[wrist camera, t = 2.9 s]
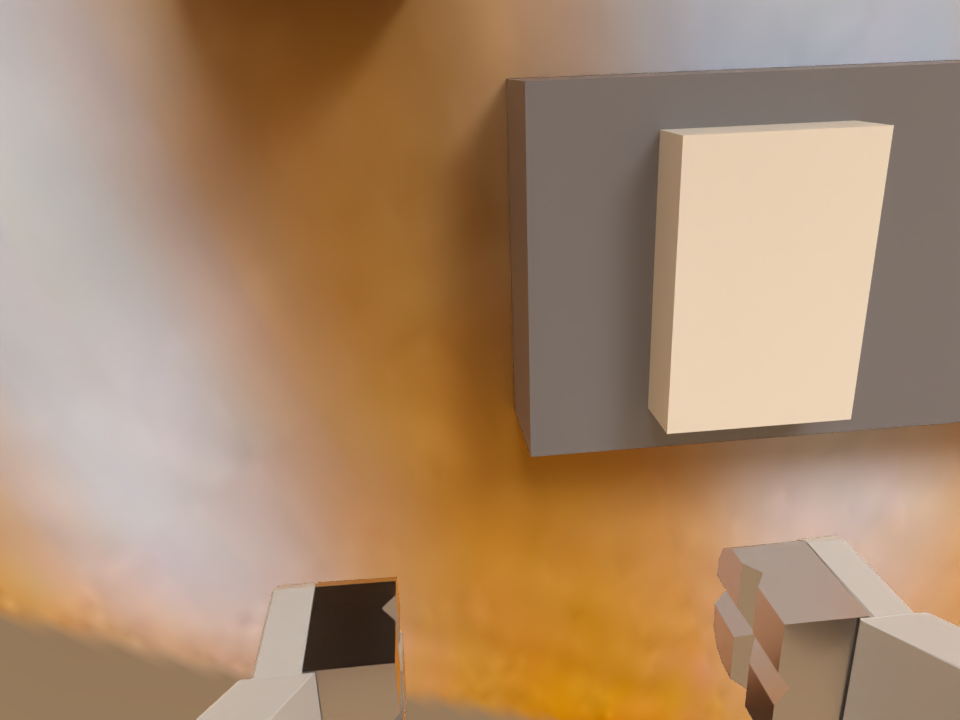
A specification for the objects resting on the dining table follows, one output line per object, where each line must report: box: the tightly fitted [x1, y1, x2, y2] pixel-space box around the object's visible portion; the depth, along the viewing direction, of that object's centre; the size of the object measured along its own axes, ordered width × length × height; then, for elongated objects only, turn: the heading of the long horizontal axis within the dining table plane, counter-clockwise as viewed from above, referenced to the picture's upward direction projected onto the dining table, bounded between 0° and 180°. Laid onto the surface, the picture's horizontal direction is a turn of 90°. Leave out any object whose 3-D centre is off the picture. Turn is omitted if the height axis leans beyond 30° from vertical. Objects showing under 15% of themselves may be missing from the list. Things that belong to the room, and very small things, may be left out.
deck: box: [507, 60, 960, 457], centre depth 27 cm, size 12×22×4 cm, turn 92°
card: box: [648, 120, 894, 434], centre depth 24 cm, size 9×6×2 cm, turn 2°
